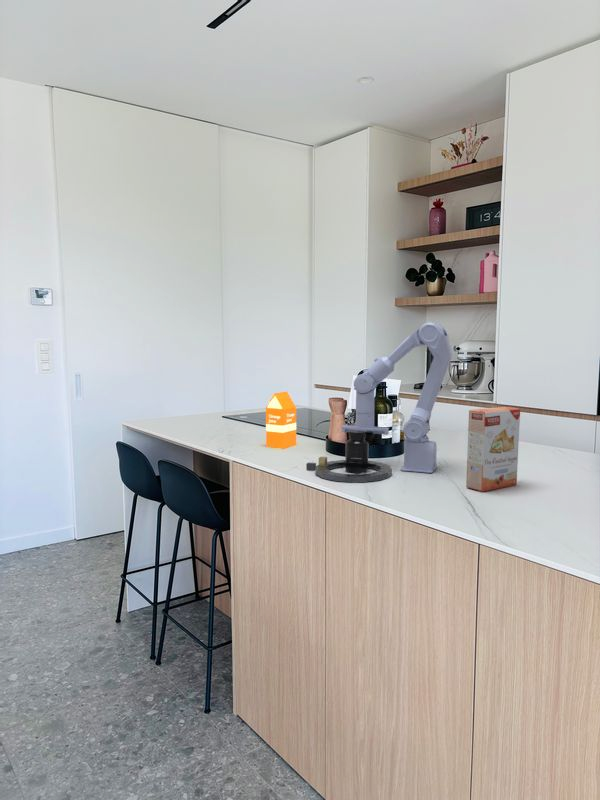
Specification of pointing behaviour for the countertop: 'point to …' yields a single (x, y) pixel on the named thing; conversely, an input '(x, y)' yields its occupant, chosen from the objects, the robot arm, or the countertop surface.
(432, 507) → the countertop surface
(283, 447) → the orange juice
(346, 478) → the ring
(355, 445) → the supplement bottle
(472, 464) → the cracker box
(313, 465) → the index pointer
